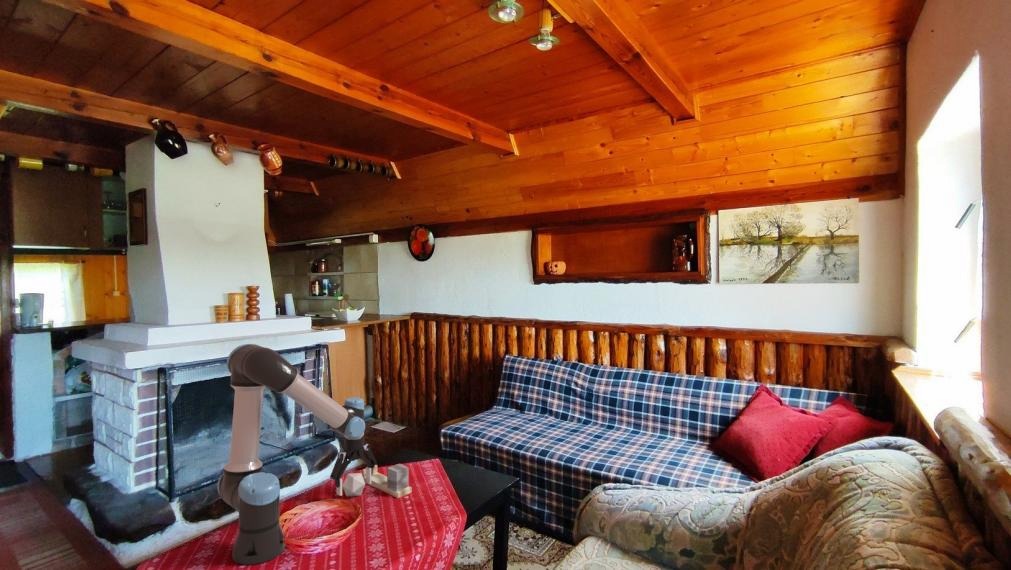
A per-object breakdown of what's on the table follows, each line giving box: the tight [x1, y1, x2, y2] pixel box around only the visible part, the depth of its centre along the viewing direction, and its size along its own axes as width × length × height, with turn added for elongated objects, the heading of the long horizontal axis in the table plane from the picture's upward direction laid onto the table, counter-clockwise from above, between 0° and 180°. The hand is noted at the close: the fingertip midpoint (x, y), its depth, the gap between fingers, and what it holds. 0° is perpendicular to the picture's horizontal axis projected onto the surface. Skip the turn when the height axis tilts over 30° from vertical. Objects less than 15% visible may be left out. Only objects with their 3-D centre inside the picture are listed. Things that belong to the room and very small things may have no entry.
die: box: [342, 472, 366, 498], centre depth 199 cm, size 8×9×10 cm
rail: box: [361, 463, 413, 499], centre depth 207 cm, size 7×24×10 cm, turn 51°
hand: (354, 488), depth 199 cm, fingers open, 13 cm apart
